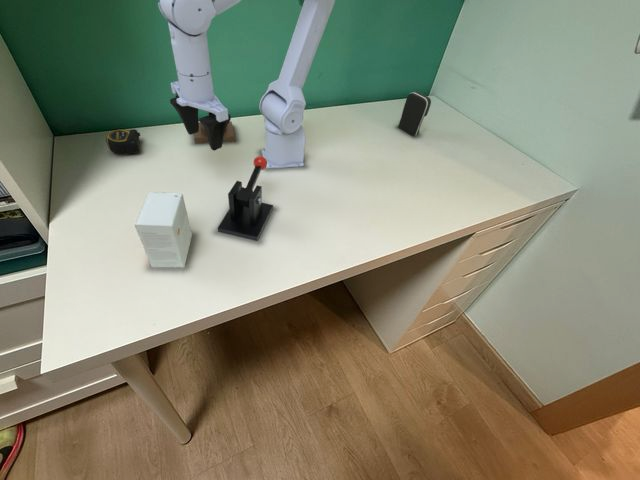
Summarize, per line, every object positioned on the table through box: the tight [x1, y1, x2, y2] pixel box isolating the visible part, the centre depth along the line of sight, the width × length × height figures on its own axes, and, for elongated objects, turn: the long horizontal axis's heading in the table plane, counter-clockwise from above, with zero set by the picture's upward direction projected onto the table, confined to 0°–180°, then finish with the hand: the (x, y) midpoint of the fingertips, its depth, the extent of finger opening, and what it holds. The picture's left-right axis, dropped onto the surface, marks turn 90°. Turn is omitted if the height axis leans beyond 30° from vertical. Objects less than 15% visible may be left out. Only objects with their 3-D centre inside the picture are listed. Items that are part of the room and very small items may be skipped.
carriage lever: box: [237, 155, 267, 208], centre depth 65 cm, size 12×3×3 cm, turn 168°
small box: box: [134, 191, 193, 268], centre depth 55 cm, size 8×6×10 cm
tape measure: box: [105, 129, 141, 155], centre depth 77 cm, size 7×7×4 cm
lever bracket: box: [217, 180, 274, 242], centre depth 64 cm, size 10×8×8 cm
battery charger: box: [397, 91, 432, 137], centre depth 98 cm, size 7×4×11 cm, turn 41°
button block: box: [193, 120, 236, 145], centre depth 86 cm, size 10×8×4 cm
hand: (204, 140), depth 67 cm, fingers open, 7 cm apart
